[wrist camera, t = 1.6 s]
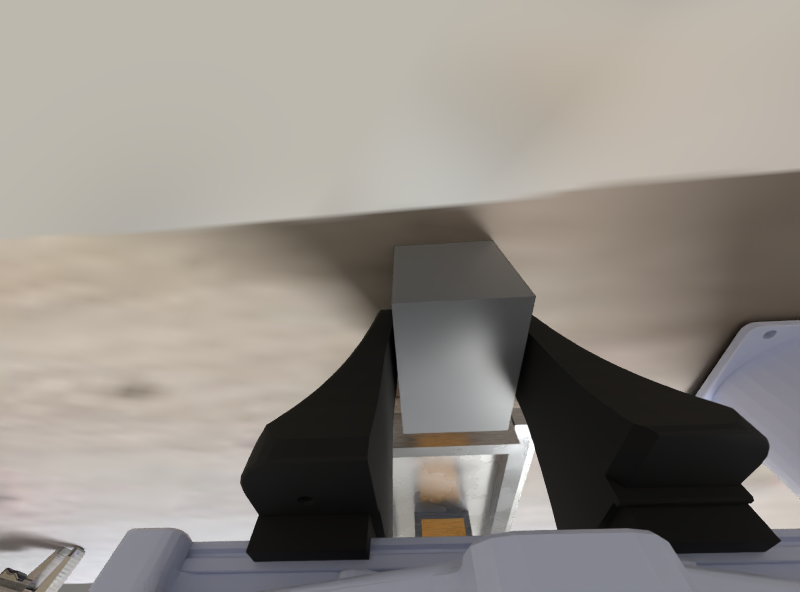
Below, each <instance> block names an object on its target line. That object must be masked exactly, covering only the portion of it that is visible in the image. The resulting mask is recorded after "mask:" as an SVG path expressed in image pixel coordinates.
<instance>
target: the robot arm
mask: <svg viewBox="0 0 800 592" xmlns="http://www.w3.org/2000/svg"><path fill="white" fill-rule="evenodd" d="M397 379H398V370H397V359H396V348H395V337H394V326H393V316H392V309H389V310H380V311H379V312H378V314H377V316H376V318H375V320H374V322H373V323H372V325H371V327H370V329H369V330H368V332H367V333H366V335H365V336H364V338H363V339H362V341H361V342H360V344H359V345H358V346H357V348H356V349H355V350H354V352H353V353H352V354H351V355H350V357H349V358H348V359H347V360H346V361H345V363H344V364H343V365H342V366H341V367H340V368H339V369H338V370H337V371H336V372H335V373H334V374H333V375H332V376H331V377H330V378H329V379H328V380H327V381H326V382H325V383H324V384H323V385H322V386H320V387H319V388H318V389H317V390H316V391H315V392H313V393H312V394H311V395H310V396H308V397H307V398H306V399H304V400H303V401H302V402H300V403H299V404H298V405H296V406H295V407H293V408H292V409H290V410H289V411H287V412H286V413H284V414H283V415H281V416H280V417H278V418H277V419H275V420H274V421H272V422H271V423H269V424H267V425H266V427H265V428H264V430H263V432H262V434H261V435H260V437H259V439H258V441H257V442H256V444H255V446H254V448H253V451H252V453H251V455H250V457H249V459H248V462H247V464H246V466H245V468H244V471H243V473H242V475H241V481H240V484H241V486H242V489H243V491H244V493H245V495H246V496H247V498H248V499H249V501H250V502H251V504H252V505H253V507H254V508H255V510H256V511H257V513H258V514H259V516H258V519H257V522H256V525H255V527H254V530H253V533H252V536H251V538H250V541H215V542H192V540H191V538H190V537H189V535H188V534H187V533H185V532H184V531H182V530H179V529H175V528H138V529H131V530H129V531H128V532H127V533H126V535H125V536H124V538H123V539H122V541H121V542H120V544H119V545H118V547H117V548H116V550H115V551H114V553H113V554H112V556H111V557H110V559H109V560H108V562H107V563H106V565H105V566H104V568H103V569H102V571H101V572H100V574H99V575H98V577H97V578H96V580H95V581H94V583H93V585H92V586H91V587H90V589H89V590H88V592H800V529H770V528H769V527H768V525H767V524H766V523H765V522H764V521H763V520H762V519H761V518H760V517H759V516H758V514H757V513H756V512H755V511H754V510H753V509H752V508H751V507H750V506H749V505H748V503H752V502H753V501H754V499H753V496H752V495H751V494H750V493H749V492H748V491H747V490H746V489H745V488H744V487H743V486H742V485H741V483H742V482H743V481H744V480H745V479H746V478H747V477H748V476H749V475H750V474H751V473H752V472H753V471H754V470H756V469H757V468H758V467H759V466H760V465H761V464H762V463H763V464H764V465H765V466H766V467H767V468H768V469H769V470H770V471H771V472H772V473H774V474H775V475H776V476H777V477H778V478H779V479H780V480H781V481H782V482H783V483H784V484H785V485H786V486H787V487H788V488H789V489H790V490H791V491H793V492H794V493H795V494H796V495H797V496H798V497H799V498H800V320H791V321H769V322H754V323H750V324H747V325H745V326H744V327H742V328H741V329H740V331H739V332H738V334H737V335H736V336H735V338H734V339H733V341H732V342H731V344H730V345H729V347H728V348H727V350H726V351H725V353H724V354H723V356H722V357H721V359H720V360H719V361H718V363H717V364H716V366H715V367H714V369H713V370H712V372H711V373H710V375H709V376H708V378H707V379H706V381H705V382H704V384H703V385H702V386H701V388H700V389H699V391H698V392H697V394H696V395H695V396H693V395H690V394H687V393H684V392H681V391H678V390H676V389H673V388H670V387H668V386H665V385H662V384H659V383H657V382H654V381H652V380H649V379H647V378H644V377H642V376H639V375H637V374H635V373H632V372H630V371H628V370H626V369H623V368H621V367H619V366H617V365H615V364H612V363H610V362H608V361H606V360H604V359H602V358H600V357H599V356H597V355H595V354H593V353H591V352H589V351H587V350H585V349H584V348H582V347H580V346H578V345H577V344H575V343H573V342H572V341H570V340H568V339H567V338H565V337H564V336H562V335H561V334H559V333H557V332H556V331H554V330H553V329H551V328H550V327H549V326H547V325H546V324H544V323H543V322H541V321H540V320H539V319H537V318H536V317H534V316H533V315H532V317H531V322H530V326H529V331H528V336H527V341H526V346H525V350H524V355H523V360H522V365H521V370H520V374H519V379H518V384H517V389H516V394H515V397H516V399H517V401H518V403H519V406H520V408H521V410H522V413H523V415H524V418H525V420H526V423H527V426H528V429H529V432H530V435H531V438H532V441H533V444H534V448H535V451H536V454H537V457H538V461H539V464H540V467H541V471H542V474H543V478H544V481H545V485H546V488H547V492H548V495H549V499H550V503H551V506H552V510H553V514H554V518H555V522H556V526H557V530H534V531H510V532H503V533H495V534H490V535H488V536H443V537H397V538H393V419H394V408H395V398H396V389H397Z"/></svg>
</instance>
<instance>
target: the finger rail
mask: <svg viewBox="0 0 800 592" xmlns="http://www.w3.org/2000/svg"><path fill="white" fill-rule="evenodd" d="M534 449H535V448H534V444H533V441H532V438H531V435H530V432H529V429H528V426H527V423H526V420H525V418H524V415H523V413H522V410H521V408H520V406H519V403H518V401H517V399H516V397H515V398H514V403H513V408H512V413H511V418H510V422H509V427H508V430H504V431H474V432H445V433H415V434H403V424H402V413H401V402H400V397H398V398H395V408H394V419H393V538H397V537H443V536H488V535H490V534H495V533H503V532H510V529H511V525H512V522H513V519H514V515H515V512H516V509H517V505H518V502H519V499H520V495H521V492H522V489H523V485H524V482H525V479H526V475H527V472H528V469H529V465H530V462H531V459H532V455H533V452H534Z"/></svg>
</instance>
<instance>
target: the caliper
mask: <svg viewBox="0 0 800 592" xmlns="http://www.w3.org/2000/svg"><path fill="white" fill-rule="evenodd" d="M84 554H85V551H84V550H83V549H81V548H79V547H77V546H75V548H74V549H73V550H70V549H68V548H66V547H60V548H59V549H57V550H56V551H55V552H54V553H53V554H52V555H51V556H49V557H48V558H47V559H46V560H45V561H44V562H43V563H41V564H40V565H39V566H38V567H37V568H36V569H35V570H33V571H32V572H31V573H30V574H29V575H28V576H27V575H26V574H24V573H22V572H20V571H15V570H13V569H11V568H6V569H5V570H4V571H3V572H2V573H1V574H0V592H57V591H58V590H59V589H60V587H61V586H62V584H63V583H64V582H65V580H66V579H67V578H68V576H69V575H70V574H71V572H72V571H73V570H74V568H75V567H76V565H77V564H78V563H79V561H80V560H81V558H82V557H83V556H84Z"/></svg>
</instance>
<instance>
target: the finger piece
mask: <svg viewBox="0 0 800 592" xmlns="http://www.w3.org/2000/svg"><path fill="white" fill-rule="evenodd" d="M535 298H536V296H535V294H534V293H533V292H532V291H531V289H530V288H529V287H528V285H527V284H526V283H525V281H524V280H523V279H522V278H521V276H520V275H519V274H518V272H517V271H516V270H515V268H514V267H513V266H512V265H511V263H510V262H509V261H508V259H507V258H506V257H505V255H504V254H503V253H502V252H501V250H500V249H499V248H498V246H497V245H496V244H495V242H494V241H493V240H490V241H473V242H455V243H438V244H421V245H403V246H395V248H394V266H393V284H392V301H391V305H392V316H393V326H394V337H395V348H396V359H397V370H398V381H399V391H400V402H401V413H402V424H403V434H415V433H445V432H474V431H504V430H508V427H509V422H510V418H511V413H512V408H513V403H514V398H515V394H516V389H517V384H518V379H519V374H520V370H521V365H522V360H523V355H524V350H525V346H526V341H527V336H528V331H529V326H530V322H531V317H532V312H533V307H534V302H535Z"/></svg>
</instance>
